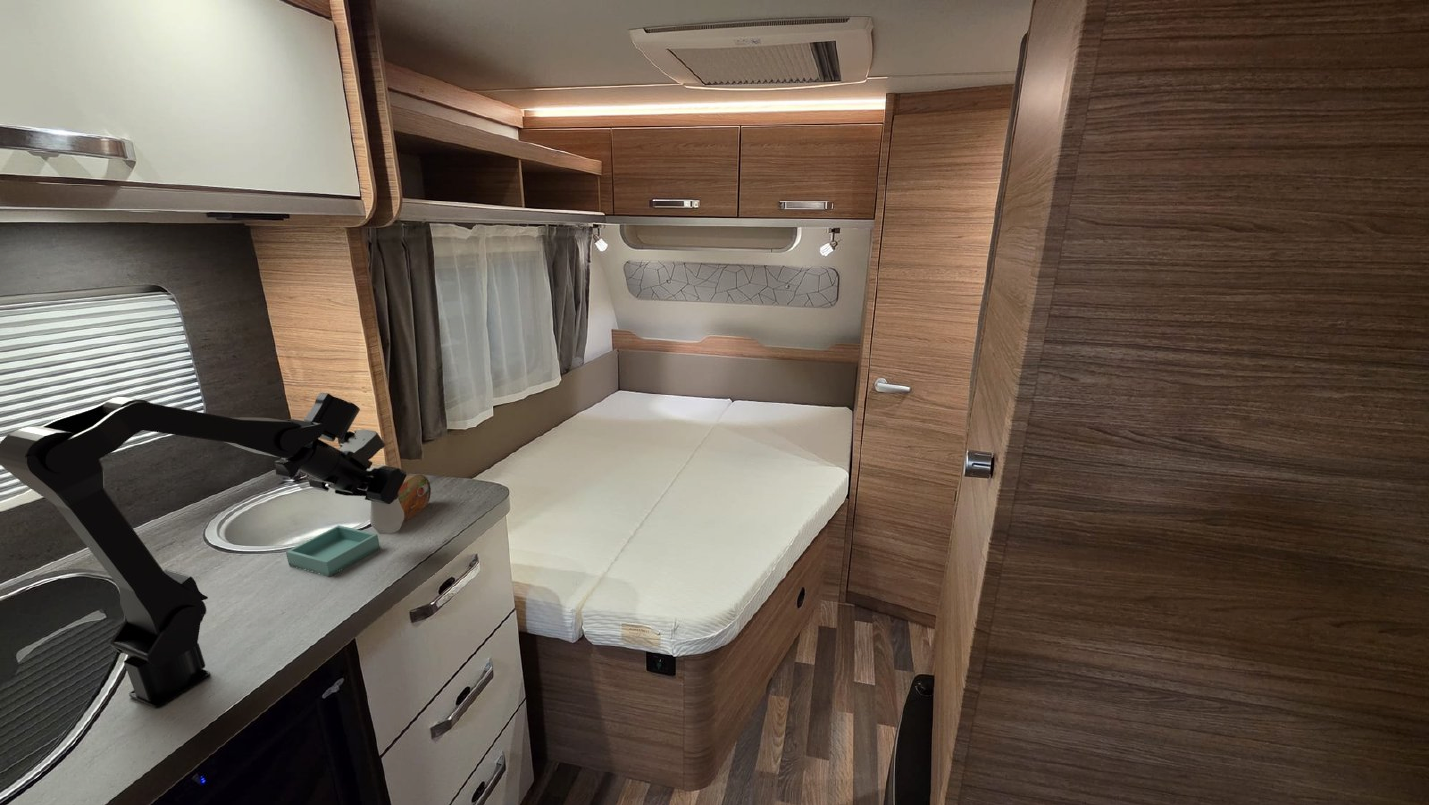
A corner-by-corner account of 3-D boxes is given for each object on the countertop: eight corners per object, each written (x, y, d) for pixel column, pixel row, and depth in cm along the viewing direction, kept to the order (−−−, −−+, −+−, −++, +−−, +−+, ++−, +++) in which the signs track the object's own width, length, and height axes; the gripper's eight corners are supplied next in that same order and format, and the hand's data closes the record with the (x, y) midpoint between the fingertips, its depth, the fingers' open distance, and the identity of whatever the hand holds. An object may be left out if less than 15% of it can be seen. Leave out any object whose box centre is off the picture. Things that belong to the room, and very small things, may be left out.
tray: (329, 576, 107) (326, 562, 106) (289, 565, 110) (285, 551, 109) (380, 547, 116) (377, 534, 115) (341, 538, 120) (338, 525, 119)
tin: (387, 534, 121) (380, 498, 119) (374, 533, 122) (367, 496, 119) (434, 502, 135) (429, 469, 133) (422, 501, 136) (416, 468, 134)
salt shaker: (393, 519, 117) (382, 459, 113) (412, 526, 114) (402, 464, 111) (365, 533, 112) (353, 470, 108) (385, 539, 109) (373, 475, 106)
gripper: (389, 427, 100) (446, 463, 113) (312, 415, 106) (375, 451, 119) (355, 487, 95) (419, 518, 108) (276, 471, 101) (346, 503, 114)
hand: (389, 495), depth 112 cm, fingers closed on salt shaker, 3 cm apart
